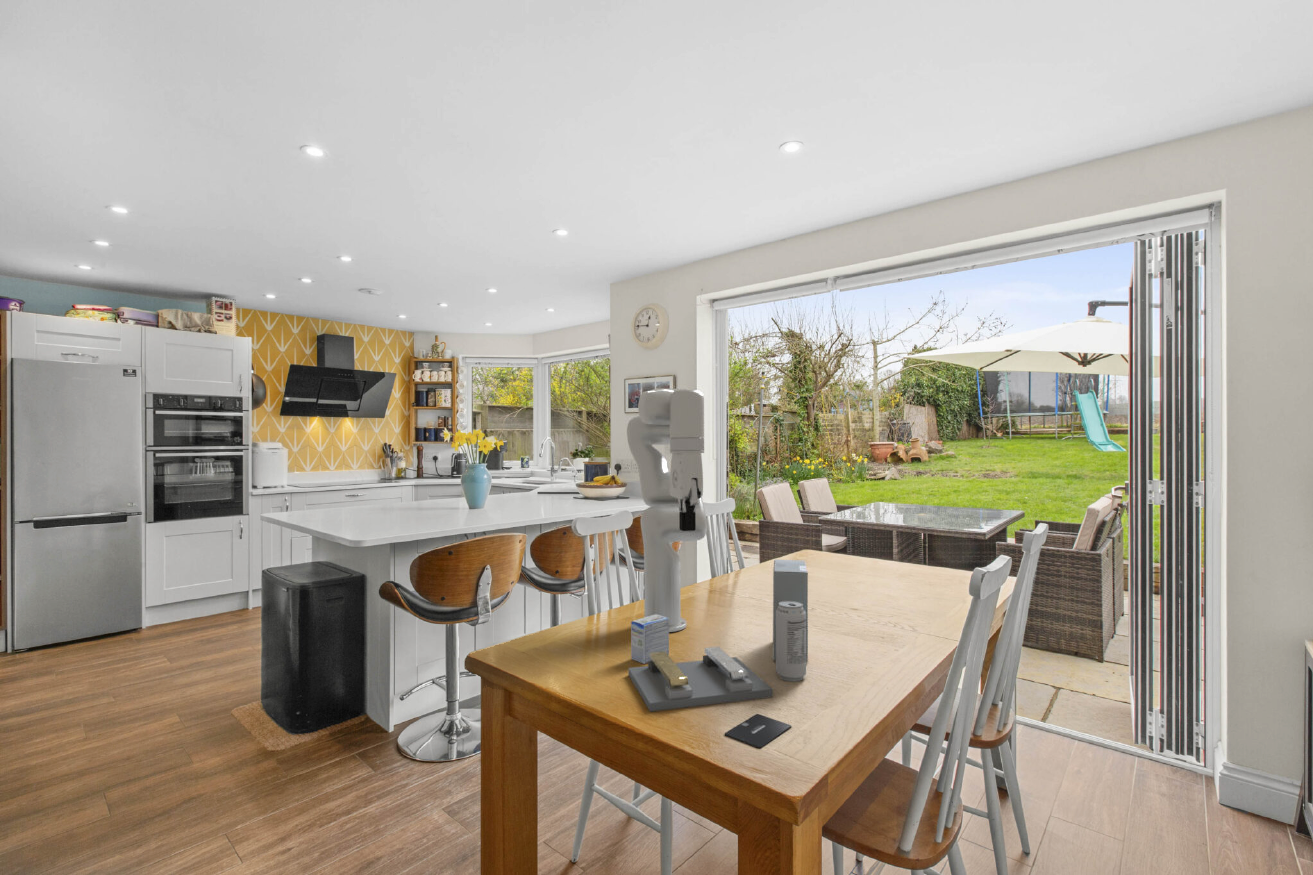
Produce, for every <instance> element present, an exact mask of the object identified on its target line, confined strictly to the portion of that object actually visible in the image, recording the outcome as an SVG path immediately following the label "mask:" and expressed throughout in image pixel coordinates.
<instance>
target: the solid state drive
mask: <svg viewBox="0 0 1313 875" xmlns="http://www.w3.org/2000/svg"><path fill="white" fill-rule="evenodd" d="M790 729H792V725H791V724H789V723H786V722H782V721H779V720H777V719H773V718H772V717H768V716H766V715H762V714H760V713H756V714H754V715H752V716H750V717H749V718H748V719H746V720H744V721H743V722H741V723H739V724H737V725H736V726H734V727H732V728H731V729H729V730H728V731H727V730H726V731H725V732H724V736H725V737H727V738H730V739H732V740H734V741H737V742H740V743H743V744H746V745H748V746H750V747H753V748H756V749H758V750H759V749H760V750H761V749H763V748H764V747H765V746H767V745H768V744H770V743H771V742H773V741H774V740H775V739H777V738H778V737H780V736H782V735H783V734H785V733H786V732H788V731H789V730H790Z"/></svg>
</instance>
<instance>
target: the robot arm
mask: <svg viewBox="0 0 1313 875" xmlns="http://www.w3.org/2000/svg"><path fill="white" fill-rule="evenodd" d="M704 396H705V395H704V393H703V392H701V390H699V389H698V390H697V389H687V388H653V389H651V390H647V391H642V392H641V394H640V396H639V399H638V403H637V404H638V405H637V406H638V407H637V408H638V416H636V417H633V418H631V419H630V420H629V421H628V423H627V426H626V438H627V443H628V448H629V451H630V453H631V455H632V457H633V459H634V461H635V463H636V465H637V468H638V477H639V484H640V489H641V490H640V491H641V496H642V500H643V502H644V504H645V505H646V506H648V508H645V509H644V510H643V511H642V513H641V516H640V529H641V536H642V542H643V544H642V545H643V570H644V571H643V572H644V573H643V574H644V575H643V576H644V578H643V579H644V580H643V581H644V587H643V588H644V590H643V592H644V594H643V595H644V598H643V601H644V603H643V604H644V610H643V612H644V617H648V616H651V615H655V614H656V615H660V616H664V617H666V618H669V633H674V632H679V631H682V630H684V629H685V628H686V627H687V620H686V619H685V618H683V617H682V616H681V559H680V555H679V554H678V552H677V551H676V550H675V549H674V548H673V546H672V545H671V543H676V542H695V541H701V540H702V539H704V538H705V536H706V535H707V532H708V521H707V514H706V510H705V509H706V508H705V506H704V502H703V494H704V472H703V458H702V454H705V397H704ZM653 445H654V446H655V445H657V446H658V445H659V446H662V445H665V446H666V445H667V446H668V445H669V454H671V460H670V470H669V463H668V459H667V458H666V457H665V456H664V455H663V454H662V452H660V451H659V450H658V449H657V448H655V447H654V446H653Z"/></svg>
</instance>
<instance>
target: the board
mask: <svg viewBox="0 0 1313 875" xmlns="http://www.w3.org/2000/svg"><path fill="white" fill-rule="evenodd" d="M730 657H731V658H732V659H733V660H734V661H736V662H737V663H738V664H739V665H740V666H741V667H742V668H743V669H745V670H747V671H748V675H749V677H748V679H739V680H731V679H730V677H729V676H728V675H727V674H726V673H725V672H724V671H723V670H722V669H721V668H720V667H719V666H718V665H717V664H716V663H715V662H714V661H713V660H712V659H711V658H710V657H709V656H708V655H707V654H705V655H702V659H701V660H693V661H685V662H684V661H683V662H674V663H675V664H676V665H677V667H678V668H679V669H680V670H681V671H682V673H683V674H684V675H685V676H687V677H688V685H686V686H677V687H670V684H669V683H668V681H667V680H666V679H665V677H664V676H663V674H662V673H661V672H660V670H659V669H658V668H657V666H656V665H655V664H654V662H653V661H648V663H647V665H646V666H635V667H628V677H629V678H630V680H631V682H632V684H633V685H634V687H635V689H636V690H637V692H638V693H639V696H640V697H641V698H642V700H643V702H644V704H645V705H646V707H647V709H648V710H649V713H652V712H656V711H657V712H658V711H667V710H675V709H684V708H692V707H693V708H694V707H698V706H699V707H701V706H707V705H714V704H715V705H716V704H724V703H725V704H726V703H733V702H741V701H749V700H758V699H764V698H765V699H766V698H772V697H773V694H774V693H773V691H774V690H773V687H771V685H769V684H768V683H767V682H766V681H764V680H763V679H762V678H761V677H760V676H759V675H757V674H756V673H755V672H754V671H753V670H752V669H750V667H748V666H747V665H746V664H745V663H744V662H743V661H741V660H740V659H739V658H738V657H737V656H733V657H732V656H730Z"/></svg>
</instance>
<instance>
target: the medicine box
mask: <svg viewBox="0 0 1313 875" xmlns="http://www.w3.org/2000/svg"><path fill="white" fill-rule="evenodd" d="M630 624H631V625H630V630H631V631H630V634H631V635H630V640H631V641H630V642H631V643H630V645H631V646H630V647H631V648H630V650H631V652H630V653H631V654H630V655H631V656H630V658H631V660H633V661H634V662H637V661H638V663H640V664H643V665H644V664H648V661H652V659H651V658H650V653H654V652H664V651H665V652H666V653H667V654H668V656H669V655H670V632H669V618H666V617H664V616H660V615H656V614H655V615H651V616H648V617H645V616H644V617H641V618H638V619H635V620H632V621H631V622H630Z"/></svg>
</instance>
